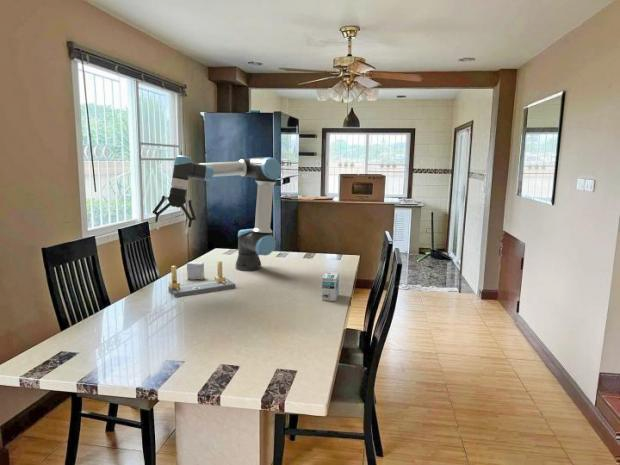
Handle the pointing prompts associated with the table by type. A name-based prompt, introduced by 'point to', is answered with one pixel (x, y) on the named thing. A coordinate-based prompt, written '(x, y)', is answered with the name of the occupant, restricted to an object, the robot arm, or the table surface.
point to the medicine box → (195, 270)
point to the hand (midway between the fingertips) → (172, 231)
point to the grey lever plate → (205, 285)
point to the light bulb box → (330, 286)
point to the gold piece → (174, 279)
